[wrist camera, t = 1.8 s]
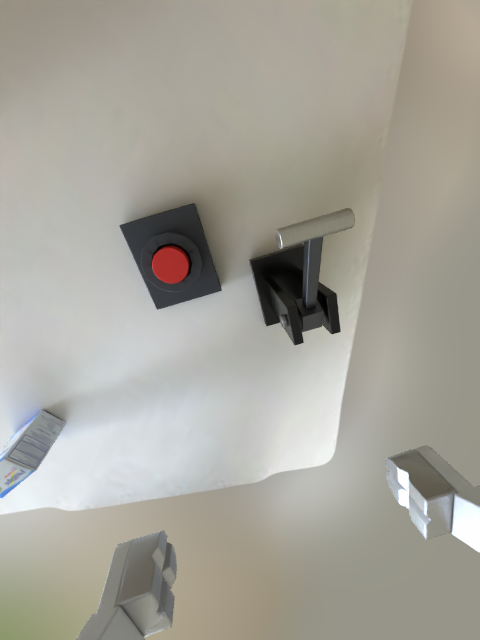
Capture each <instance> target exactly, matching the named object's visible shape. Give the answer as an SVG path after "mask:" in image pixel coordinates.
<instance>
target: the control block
mask: <svg viewBox="0 0 480 640" xmlns="http://www.w3.org/2000/svg"><path fill="white" fill-rule="evenodd" d="M120 228H121V230H122V233H123V235H124V237H125V239H126V241H127V244H128V246H129V248H130V250H131V253H132V255H133V257H134V259H135V262H136V264H137V266H138V268H139V270H140V273H141V275H142V277H143V279H144V282H145V284H146V286H147V288H148V291H149V293H150V295H151V297H152V299H153V302H154V304H155V306H156V308H157V310H158V309H161V308H165V307H168V306H171V305H175V304H178V303H182V302H185V301H188V300H192V299H195V298H198V297H202V296H205V295H209V294H212V293H215V292H219V291H221V285H220V282H219V279H218V276H217V273H216V270H215V266H214V263H213V260H212V257H211V254H210V250H209V247H208V244H207V241H206V238H205V235H204V231H203V228H202V225H201V222H200V219H199V216H198V212H197V209H196V206H195V204H194V203H193V204H189V205H186V206H183V207H179V208H176V209H173V210H169V211H166V212H163V213H159V214H156V215H152V216H149V217H146V218H142V219H139V220H136V221H132V222H129V223H126V224H122V225H120ZM166 246H176V247H178V248H180V249H182V250H183V251H184V252H185V253H186V254H187V256H188V258H189V263H190V265H189V270H188V273H187V275H186V277H185V278H184V279H183V280H182V281H180V282H177V283H166V282H164V281H162V280H160V279H159V278H158V277H157V276H156V275H155V273H154V271H153V268H152V260H153V257H154V255H155V254H156V253H157V252H158V251H159V250H160V249H162V248H163V247H166Z"/></svg>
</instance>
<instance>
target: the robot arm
mask: <svg viewBox="0 0 480 640" xmlns="http://www.w3.org/2000/svg"><path fill="white" fill-rule="evenodd" d="M386 466H387V468H388V469H389V471H388V473H387V482H388V485H389V487H390V489H391V491H392V493H393V495H394V496H395V498H396V499H397V501H398V502H399V503H400V504H401V505H402V506H404V507H406V508H408V509H409V512H410V518H411V520H412V521H413V522H414V524H415V525H416V526H417V528H418V529H419V531H420V532H421V533H422V535H423V536H424V537H425V539H426V540H427V539H431V538H434V537H437V536H441V535H444V534H447V533H451V532H452V534H453V535H454V536H456V537H457V538H459V539H460V540H462V541H463V542H465V543H466V544H468V545H469V546H471V547H472V548H473V549H475V550H476V551H478V552H479V553H480V486H476V487H474V486H473V485H471V484H470V483H469V482H468V481H467V480H466V479H465V478H464V477H463V476H462V475H461V474H459V473H458V472H457V471H456V470H455V469H454V468H453V467H452V466H451V465H450V464H448V463H447V462H446V461H445V460H444V459H443V458H442V457H441V456H440V455H438V454H437V452H435V451H434V450H433V449H432V448H431V447H429V446H422V447H419V448H416V449H413V450H409V451H406V452H404V453H400V454H397V455H394V456H391V457H388V458H387V459H386ZM176 570H177V564H176V554H175V550H174V547H173V546H172V544H170V543H168V542H167V535H166V533H165V532H164V530H163V531H160V532H156V533H153V534H150V535H147V536H143V537H140V538H137V539H133V540H130V541H127V542H124V543H121V544H118V546H117V548H116V549H115V551H114V554H113V558H112V561H111V565H110V568H109V572H108V575H107V579H106V583H105V586H104V589H103V593H102V597H101V600H100V603H99V607H98V610H97V613H95V614H92V615H91V617H90V618H89V620H88V621H87V623H86V625H85V626H84V627H83V629H82V630H81V632H80V634H79V635H78V637H77V638H76V640H145V638H144V637H146V636H149V635H151V634H154V633H156V632H159V631H162V630H164V629H167V628H170V627H172V621H173V609H174V595H173V593H172V591H171V587H172V585H173V583H174V581H175V579H176Z"/></svg>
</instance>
